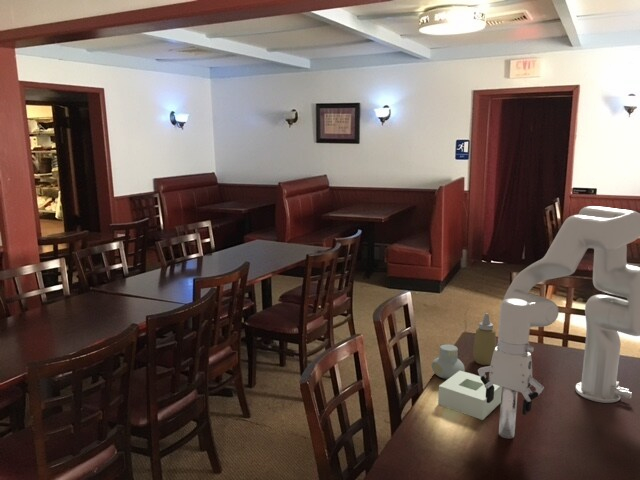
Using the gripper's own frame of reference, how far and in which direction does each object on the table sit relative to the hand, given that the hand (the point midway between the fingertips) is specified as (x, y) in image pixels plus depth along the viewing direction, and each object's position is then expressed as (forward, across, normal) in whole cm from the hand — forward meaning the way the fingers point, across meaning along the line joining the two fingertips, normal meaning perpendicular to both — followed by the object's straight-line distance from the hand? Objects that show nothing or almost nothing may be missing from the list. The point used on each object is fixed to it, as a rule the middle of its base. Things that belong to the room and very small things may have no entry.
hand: (507, 406), depth 144 cm
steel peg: (+8, 0, -1) cm, 8 cm away
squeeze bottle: (+8, +24, -42) cm, 49 cm away
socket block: (+8, +15, -11) cm, 20 cm away
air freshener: (+8, +29, -24) cm, 38 cm away
